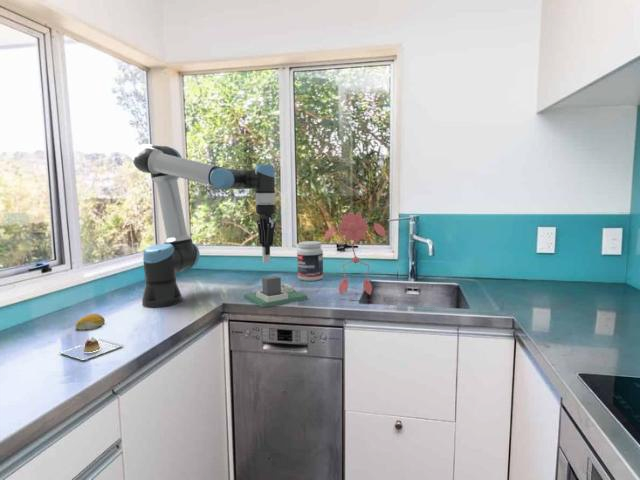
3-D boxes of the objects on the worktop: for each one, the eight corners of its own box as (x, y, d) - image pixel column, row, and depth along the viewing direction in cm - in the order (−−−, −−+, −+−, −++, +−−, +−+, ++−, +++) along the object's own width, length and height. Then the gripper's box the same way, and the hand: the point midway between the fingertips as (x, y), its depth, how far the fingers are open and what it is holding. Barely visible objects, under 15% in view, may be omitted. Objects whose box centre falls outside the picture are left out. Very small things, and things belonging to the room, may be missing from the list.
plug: (267, 299, 162) (266, 279, 161) (262, 296, 166) (262, 277, 165) (282, 296, 166) (281, 277, 165) (277, 294, 170) (276, 275, 169)
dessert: (59, 356, 116) (57, 339, 115) (99, 342, 126) (98, 327, 126) (83, 364, 110) (82, 347, 109) (124, 348, 120) (123, 333, 120)
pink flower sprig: (328, 290, 181) (326, 211, 176) (387, 292, 175) (386, 210, 170) (319, 300, 167) (317, 214, 162) (383, 303, 160) (382, 213, 155)
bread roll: (106, 321, 146) (105, 310, 145) (99, 329, 137) (98, 317, 137) (81, 323, 144) (80, 312, 143) (72, 331, 135) (71, 320, 135)
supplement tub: (294, 281, 202) (292, 244, 199) (302, 275, 214) (301, 240, 212) (319, 282, 198) (318, 244, 196) (326, 276, 210) (325, 241, 208)
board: (262, 307, 157) (262, 298, 157) (244, 297, 172) (244, 289, 172) (307, 298, 168) (307, 290, 167) (286, 290, 183) (286, 282, 183)
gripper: (281, 204, 160) (281, 264, 163) (267, 203, 171) (268, 259, 174) (263, 204, 156) (264, 265, 159) (250, 203, 167) (251, 260, 170)
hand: (266, 262), depth 166 cm, fingers closed
